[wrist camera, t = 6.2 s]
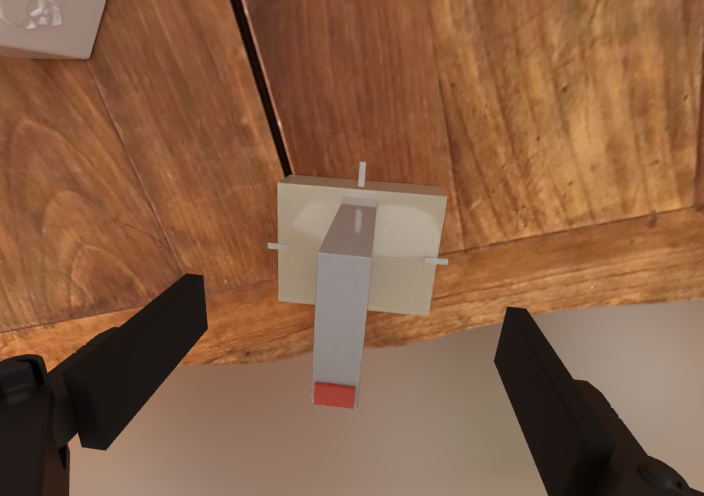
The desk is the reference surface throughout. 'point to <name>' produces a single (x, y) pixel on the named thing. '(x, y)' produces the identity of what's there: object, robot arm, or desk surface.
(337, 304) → the tap handle
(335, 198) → the panel
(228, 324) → the desk surface
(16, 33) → the jar
